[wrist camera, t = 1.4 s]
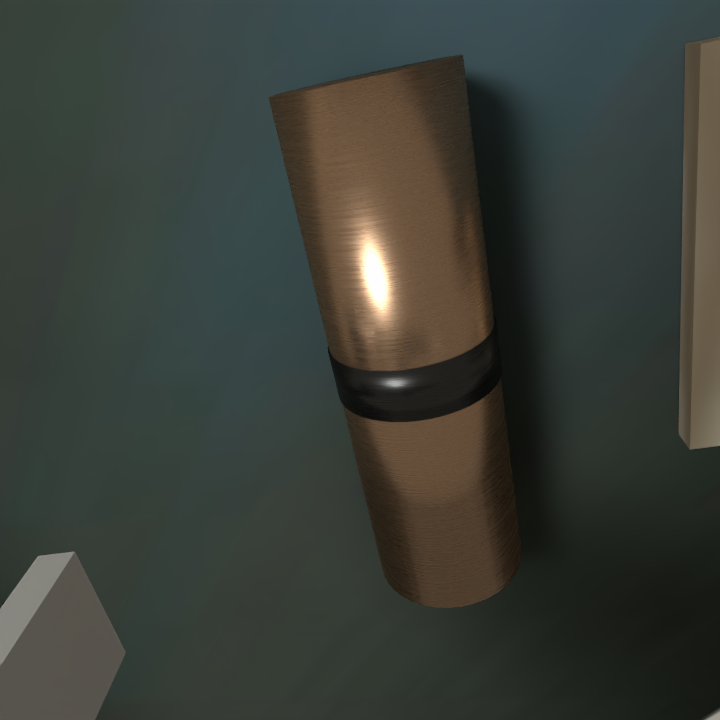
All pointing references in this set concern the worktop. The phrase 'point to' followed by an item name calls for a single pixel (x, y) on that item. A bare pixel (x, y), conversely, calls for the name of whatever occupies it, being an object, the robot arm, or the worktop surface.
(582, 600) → the worktop surface
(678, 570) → the worktop surface
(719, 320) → the board
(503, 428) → the tube
